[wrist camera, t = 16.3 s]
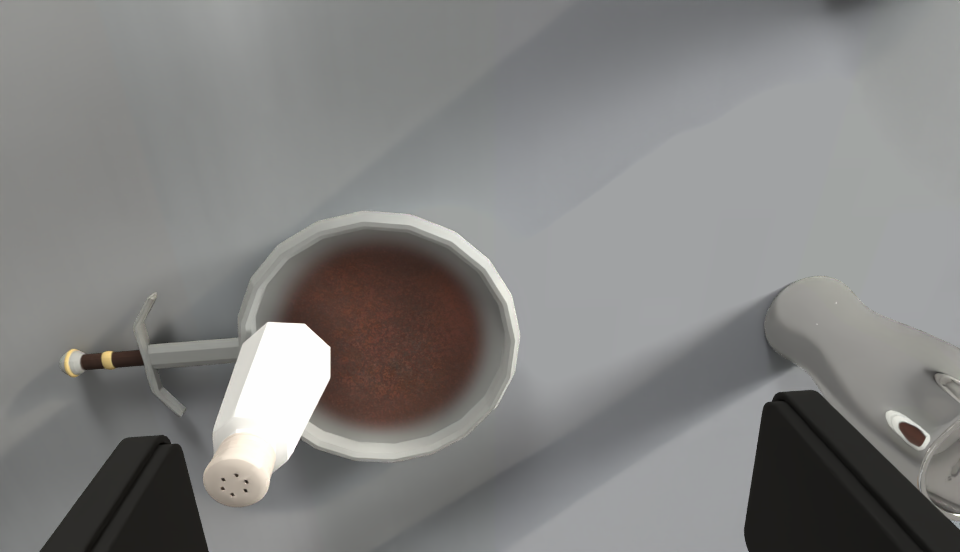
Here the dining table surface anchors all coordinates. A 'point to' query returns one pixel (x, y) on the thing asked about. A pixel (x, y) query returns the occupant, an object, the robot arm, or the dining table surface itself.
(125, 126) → the dining table surface
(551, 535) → the dining table surface
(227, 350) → the frying pan
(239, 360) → the pepper shaker
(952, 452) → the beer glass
